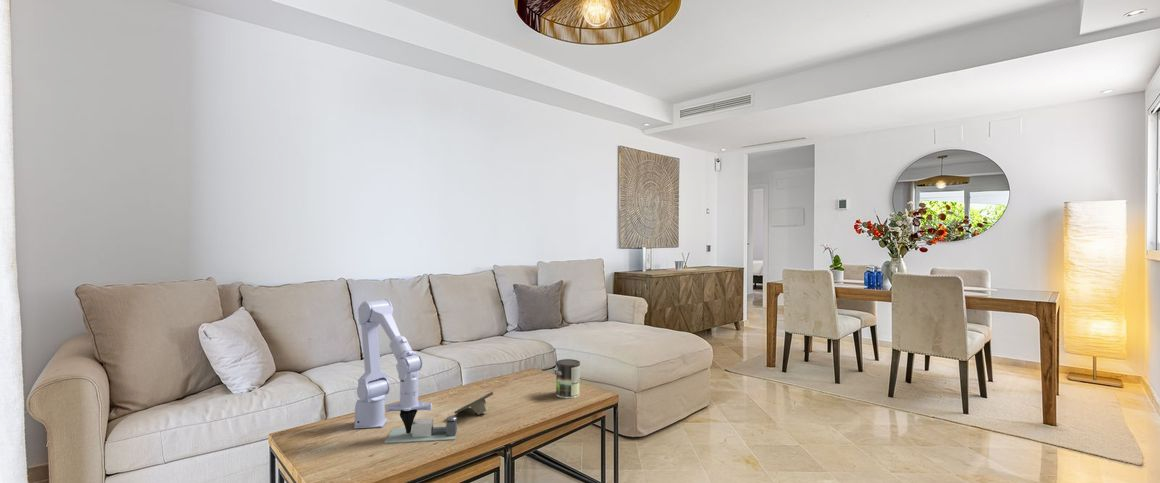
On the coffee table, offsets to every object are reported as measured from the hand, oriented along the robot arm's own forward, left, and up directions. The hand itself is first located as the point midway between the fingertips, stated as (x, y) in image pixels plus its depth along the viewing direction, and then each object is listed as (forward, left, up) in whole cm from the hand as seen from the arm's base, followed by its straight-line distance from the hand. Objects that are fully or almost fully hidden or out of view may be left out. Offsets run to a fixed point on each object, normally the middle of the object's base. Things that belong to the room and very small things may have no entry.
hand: (408, 432), depth 161 cm
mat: (+4, +1, -1) cm, 5 cm away
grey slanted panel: (+19, +19, -2) cm, 27 cm away
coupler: (+11, 0, -1) cm, 11 cm away
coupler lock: (+5, 0, -1) cm, 5 cm away
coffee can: (+58, +37, -2) cm, 69 cm away
